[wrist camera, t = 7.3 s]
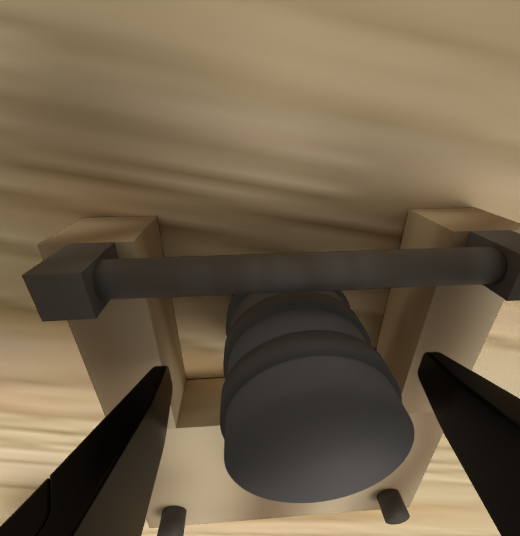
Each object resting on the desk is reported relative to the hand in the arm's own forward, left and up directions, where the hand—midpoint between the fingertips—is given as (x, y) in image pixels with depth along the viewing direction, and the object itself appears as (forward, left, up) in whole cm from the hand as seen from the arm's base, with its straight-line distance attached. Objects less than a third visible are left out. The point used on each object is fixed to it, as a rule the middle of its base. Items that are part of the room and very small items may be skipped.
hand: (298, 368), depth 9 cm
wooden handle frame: (0, +4, -3) cm, 5 cm away
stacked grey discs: (0, 0, -3) cm, 3 cm away
